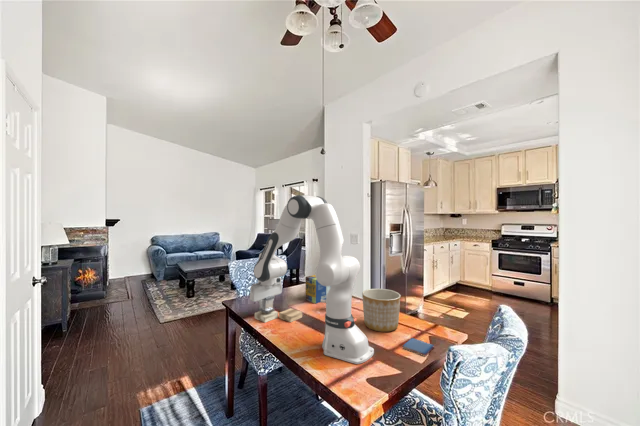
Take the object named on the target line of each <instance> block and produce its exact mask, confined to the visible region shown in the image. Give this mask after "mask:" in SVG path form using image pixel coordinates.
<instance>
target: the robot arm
mask: <svg viewBox="0 0 640 426" xmlns="http://www.w3.org/2000/svg"><path fill="white" fill-rule="evenodd" d="M304 219H309V220H310V219H311V220H312V221H313V224H314V228H315V232H316V235H317V236H316V237H317V240H318V245H319V259H318V264H317V266H316V268H315V274H314V275H316V279H317V281H318V282H319V283H320V284H321V285H323V286H331V288H330V290H329V292H328V294H327V296H326V303H325V313H324V323H325V327H324V328H325V331H324V336H323V337H324V338H323V341H322V345H321V347H322V350H323V354H324V355H325V356H327V357H331V358H334V359H338V360H342V361H344V362H348V363H352V364H356V365H359V364H363V363H366V362H367V361H368V360H370V359H371V358H372V357H373V356H374V354H375V349H374V348H373V347H372V346H370V345H369V341H368V337H367V336H366V334H365V333H364V332H363V331H362V330H361V329H360V328H359V326H357V325H356V322H357V317H355V318H354V316H353V314H352V304H353V303H352V301H353V299H352V297H353V291H354V287H355V285H356V284H355V283H356V279H357V278H358V274H359V273H360V271H361V263H360V261H359V260H358V258H356V257H354V256H352V255H342V254H343V253H342V249H343V245H344V243H345V240H344V236H343V231H342V227H341V224H340V220H339V217H338V215H337V212H336V210H335V209H334V206H333V205H332V204H331V203H328V202H327V200H326V199H325V198H324V197H321V196H317V195H316V196H315V195H309V194H306V195H305V194H304V195H300V194H299V195H293V196H291V197H290V198H289V199H288V201H287V203H286V204H285V206H284V208H283V210H282V212H281V215H280V218H279V219H278V220H279V221H278V224H277V226H276V227H275V230H274V231H272V233H271V234H270V235H269V237H268V238H267V241H266V243H265V245H264V247H263V249H262V252H260V253H259V256H258V260H257V261H256V264H255V265H254V268H253V275H254V278H255V279H256V280H257V282H255V283H253V284H252V285H251V286H250V288H249V289H250V292H249V300H250V302H252V303H253V302H254V303H256V302H258V304H259V307H261V308H262V307H264V304H263V303H262V299H265V298H266V297H269V296H279V295H281V294H282V292H283V283H282V277H284V276H285V275H286V274H287V273H288V263H287V261H286V260H285V259H283V258H280V257H279V256H278V255H276V251H277V250H278V249H279V248H280V247H282V246H283V245H285V244H287V243H289V242H292V241H293V240H295V239H296V238H297V236H298V235H299V232H300V229H301V227H302V222H303V220H304ZM274 300H275V299H273V301H274Z"/></svg>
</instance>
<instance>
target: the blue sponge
mask: <svg viewBox="0 0 640 426" xmlns="http://www.w3.org/2000/svg"><path fill="white" fill-rule="evenodd" d="M434 346H435V345H434V344H431V343H427V342H425V341H422V340H420V339H417V338H414V337H412V338H410V339H408V340H407V342H405V343H404V344H403V345H402V346H401V347H402V348H403V349H402V350H405V351H406V350H407V352H412V353H414V354H417V355H421V354H422V355H421V356H423V357H425V355H427V356H428V354H429V353H430V352H431V351H432V350H433V349H434V348H435V347H434Z"/></svg>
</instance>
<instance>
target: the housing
mask: <svg viewBox="0 0 640 426" xmlns="http://www.w3.org/2000/svg"><path fill="white" fill-rule="evenodd" d="M275 296H276V295H275ZM275 296H269V297H266V298H265V299H262V303H263V304H264V307H262V308H261V307H260V306H259V307H257V310H258V312H259V311H262V312H265V313H270V312H273V311H276V310H275V307H274V300H275V298H276V297H275ZM273 299H274V300H273Z"/></svg>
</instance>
